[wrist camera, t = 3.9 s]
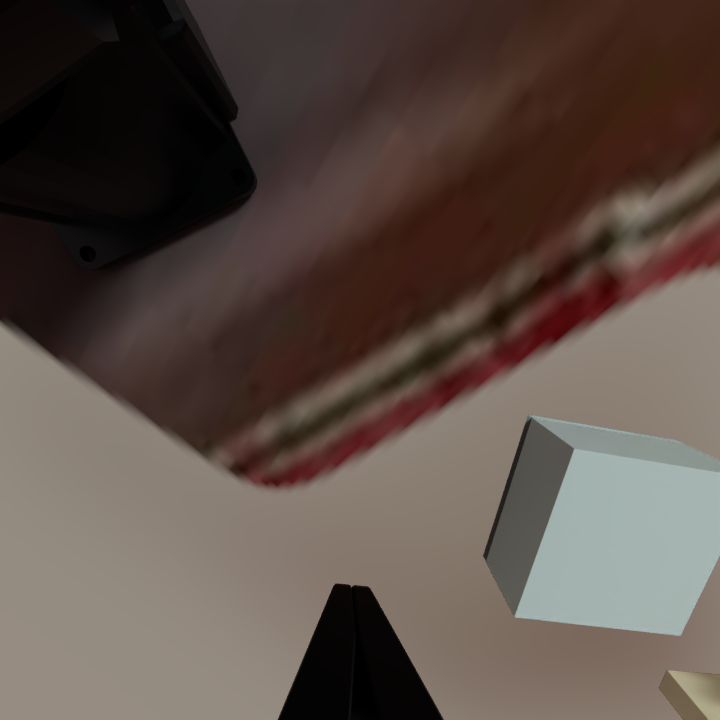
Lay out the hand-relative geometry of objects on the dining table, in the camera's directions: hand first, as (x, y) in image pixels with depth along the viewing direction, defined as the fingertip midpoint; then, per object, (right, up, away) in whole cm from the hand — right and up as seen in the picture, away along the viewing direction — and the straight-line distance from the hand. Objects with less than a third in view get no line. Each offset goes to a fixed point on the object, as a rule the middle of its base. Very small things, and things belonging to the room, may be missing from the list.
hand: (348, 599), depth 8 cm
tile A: (+10, -1, +8) cm, 13 cm away
